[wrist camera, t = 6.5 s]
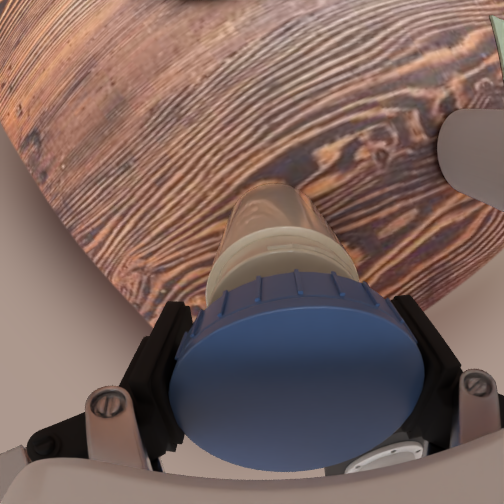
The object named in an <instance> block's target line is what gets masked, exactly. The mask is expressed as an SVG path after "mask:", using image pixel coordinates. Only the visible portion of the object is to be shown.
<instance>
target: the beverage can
mask: <svg viewBox="0 0 504 504" xmlns="http://www.w3.org/2000/svg"><path fill="white" fill-rule="evenodd" d="M437 154H438V161H439V165H440V168H441V171H442V173H443V175H444V177H445V179H446V180H447V182H448V183H449V184H450V185H451V186H452V187H453V188H454V189H455V190H457V191H458V192H460V193H463V194H465V195H467V196H470V197H472V198H474V199H477V200H479V201H481V202H483V203H485V204H488V205H490V206H492V207H494V208H496V209H498V210H500V211H502V212H504V110H499V109H459V110H457V111H454V112H453V113H451V114H450V115H449V116H448V117H447V118H446V120H445V121H444V123H443V125H442V127H441V129H440V132H439V136H438V143H437Z"/></svg>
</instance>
